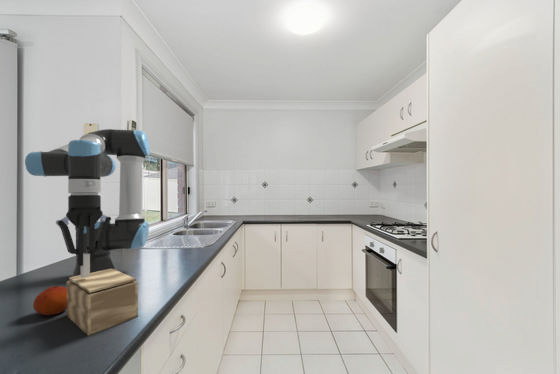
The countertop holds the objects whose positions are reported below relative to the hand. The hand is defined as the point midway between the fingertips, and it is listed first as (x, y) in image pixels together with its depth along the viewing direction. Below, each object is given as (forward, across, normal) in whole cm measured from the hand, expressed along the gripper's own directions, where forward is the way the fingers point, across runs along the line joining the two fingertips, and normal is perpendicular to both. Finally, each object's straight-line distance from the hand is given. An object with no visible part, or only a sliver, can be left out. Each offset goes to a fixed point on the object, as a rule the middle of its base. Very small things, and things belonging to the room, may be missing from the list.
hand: (85, 276), depth 75 cm
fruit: (+12, -4, +12) cm, 18 cm away
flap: (+2, +3, -3) cm, 5 cm away
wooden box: (+12, +3, -3) cm, 13 cm away
